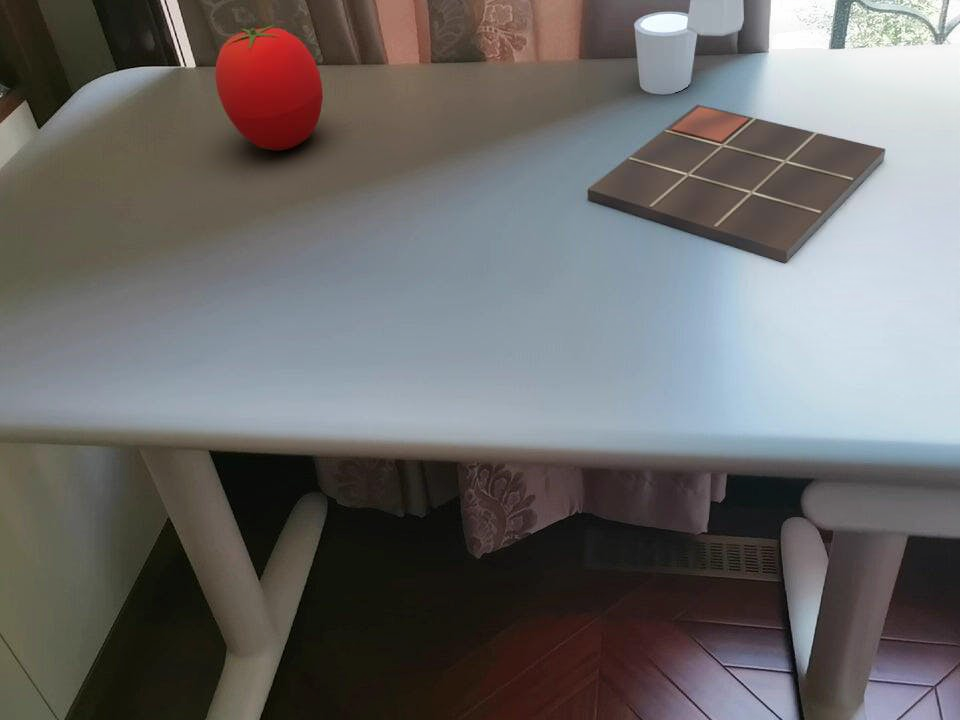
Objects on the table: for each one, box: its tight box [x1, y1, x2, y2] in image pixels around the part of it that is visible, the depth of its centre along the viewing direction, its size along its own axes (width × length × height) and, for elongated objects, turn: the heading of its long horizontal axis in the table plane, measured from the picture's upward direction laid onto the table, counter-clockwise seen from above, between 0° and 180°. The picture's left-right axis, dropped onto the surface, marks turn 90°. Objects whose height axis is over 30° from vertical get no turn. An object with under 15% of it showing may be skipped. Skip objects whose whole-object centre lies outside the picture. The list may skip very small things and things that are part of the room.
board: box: [587, 104, 886, 264], centre depth 90 cm, size 20×20×1 cm
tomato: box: [214, 24, 324, 151], centre depth 102 cm, size 11×11×13 cm
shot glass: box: [633, 11, 698, 95], centre depth 106 cm, size 7×7×7 cm
